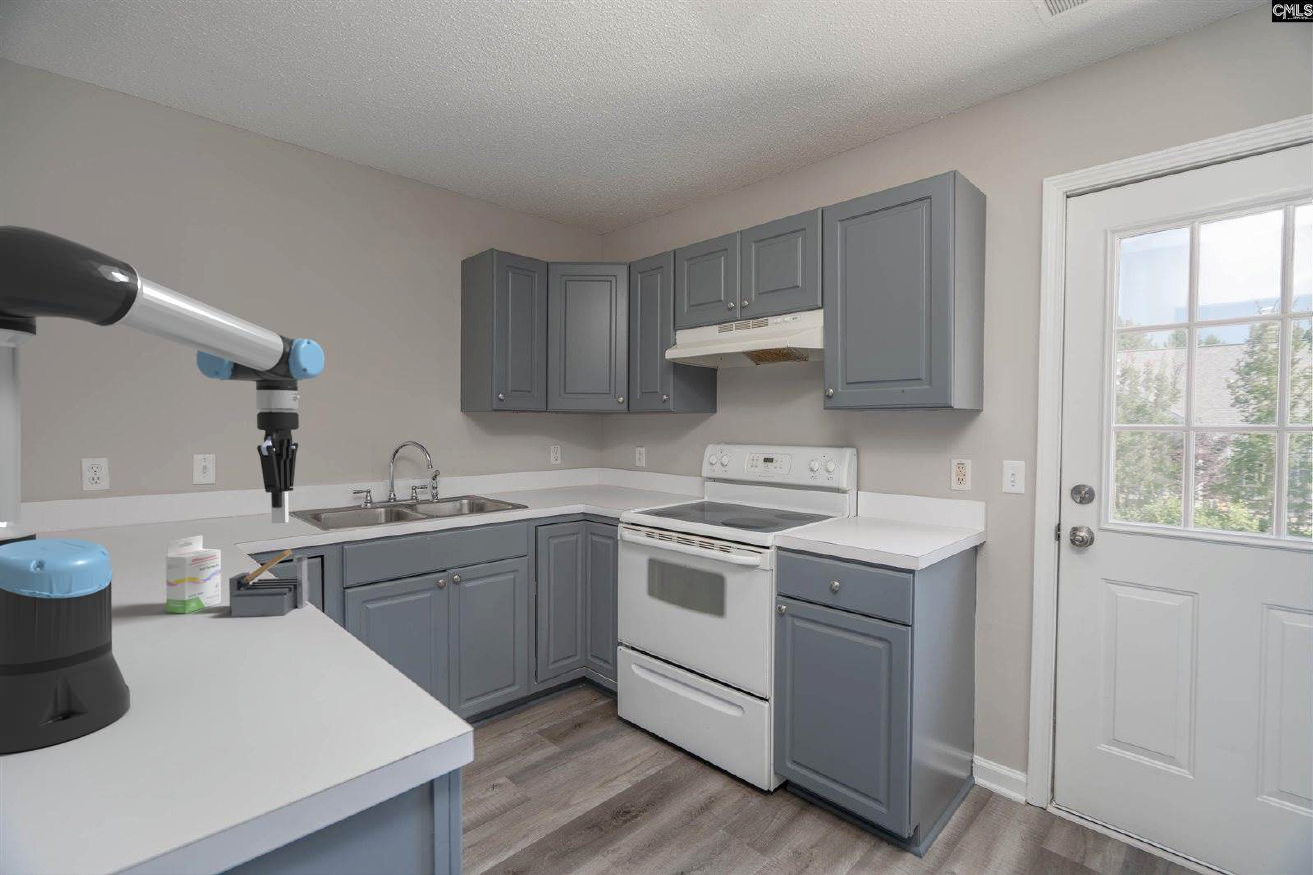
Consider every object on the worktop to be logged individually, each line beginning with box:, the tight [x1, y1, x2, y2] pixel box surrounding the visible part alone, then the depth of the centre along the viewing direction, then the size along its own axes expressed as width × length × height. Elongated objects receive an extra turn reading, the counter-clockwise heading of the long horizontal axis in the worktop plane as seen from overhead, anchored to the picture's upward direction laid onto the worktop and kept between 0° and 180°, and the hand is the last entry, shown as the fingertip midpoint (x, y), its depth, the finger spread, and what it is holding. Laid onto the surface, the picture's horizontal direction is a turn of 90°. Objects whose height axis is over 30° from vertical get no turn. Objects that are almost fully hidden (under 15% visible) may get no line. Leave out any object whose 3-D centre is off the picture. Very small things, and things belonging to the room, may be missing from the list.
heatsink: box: [228, 554, 311, 618], centre depth 132 cm, size 12×14×11 cm
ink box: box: [165, 535, 222, 614], centre depth 132 cm, size 9×5×15 cm, turn 168°
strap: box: [239, 548, 293, 585], centre depth 132 cm, size 4×11×1 cm
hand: (280, 522), depth 132 cm, fingers closed
